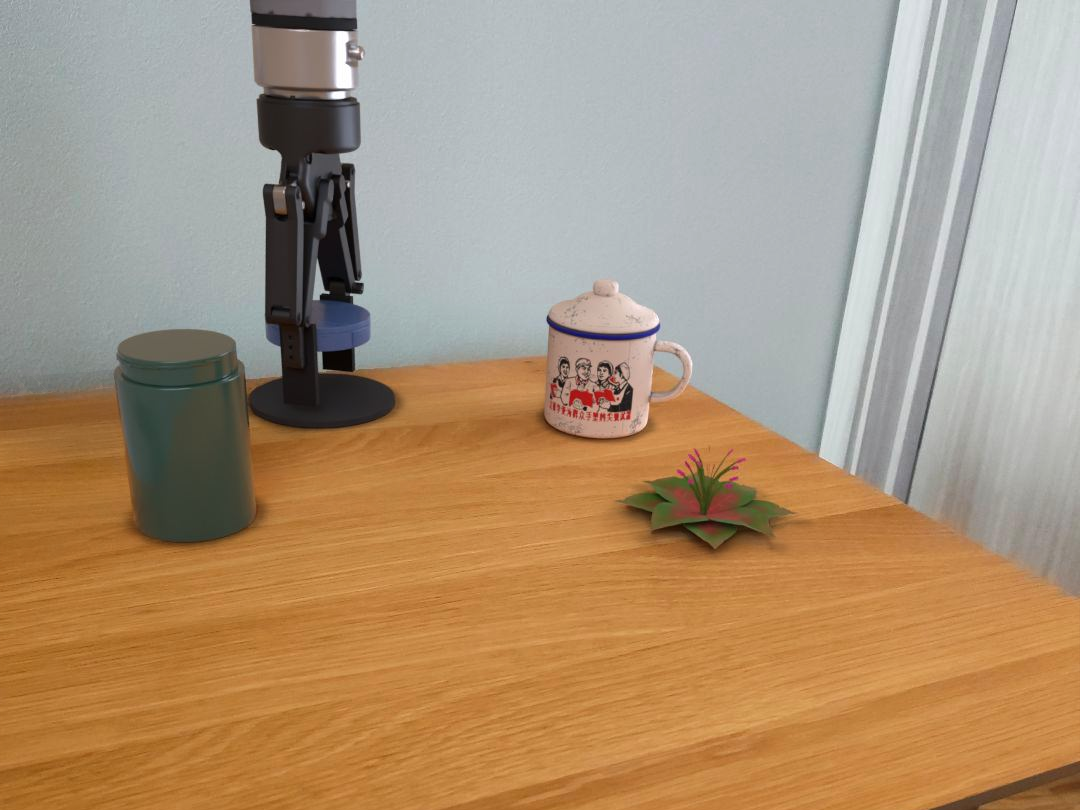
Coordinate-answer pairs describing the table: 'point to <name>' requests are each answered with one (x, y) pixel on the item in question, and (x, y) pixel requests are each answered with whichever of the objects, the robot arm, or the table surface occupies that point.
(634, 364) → the teacup with lid
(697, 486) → the lily flower
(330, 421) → the coaster
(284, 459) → the table surface
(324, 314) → the jar lid
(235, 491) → the jar
